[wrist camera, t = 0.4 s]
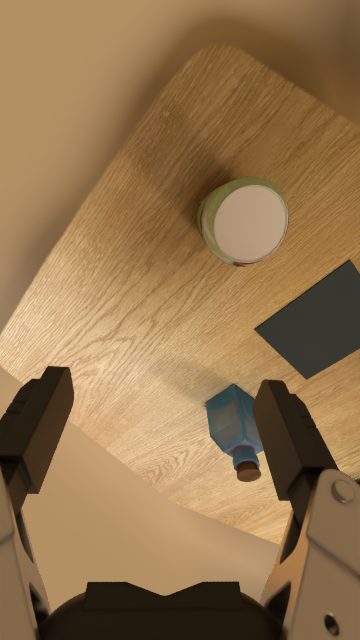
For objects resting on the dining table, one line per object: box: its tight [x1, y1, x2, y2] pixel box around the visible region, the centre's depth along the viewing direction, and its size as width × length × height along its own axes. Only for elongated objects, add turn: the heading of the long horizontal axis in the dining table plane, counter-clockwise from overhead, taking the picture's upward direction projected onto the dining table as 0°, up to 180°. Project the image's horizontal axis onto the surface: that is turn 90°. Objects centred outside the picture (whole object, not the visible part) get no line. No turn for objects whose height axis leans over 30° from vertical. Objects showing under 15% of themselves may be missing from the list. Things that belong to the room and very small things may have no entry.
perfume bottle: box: [206, 384, 263, 482], centre depth 39 cm, size 6×6×12 cm
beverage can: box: [197, 177, 289, 267], centre depth 22 cm, size 6×7×12 cm
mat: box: [254, 260, 360, 380], centre depth 36 cm, size 14×14×1 cm
